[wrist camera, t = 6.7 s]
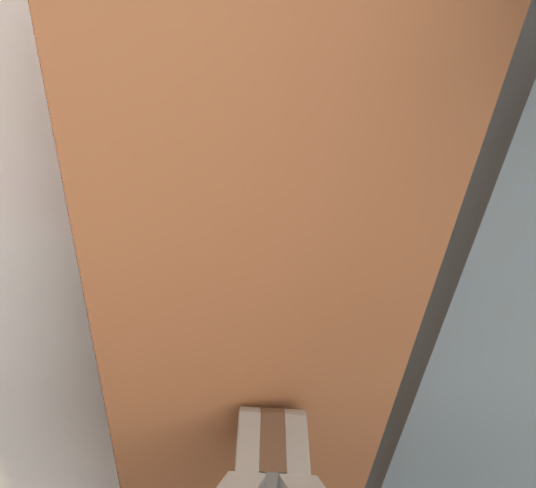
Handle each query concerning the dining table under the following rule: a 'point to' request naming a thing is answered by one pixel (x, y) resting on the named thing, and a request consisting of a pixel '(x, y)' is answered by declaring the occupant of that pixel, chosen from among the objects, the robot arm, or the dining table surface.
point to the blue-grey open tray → (478, 321)
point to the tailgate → (263, 207)
